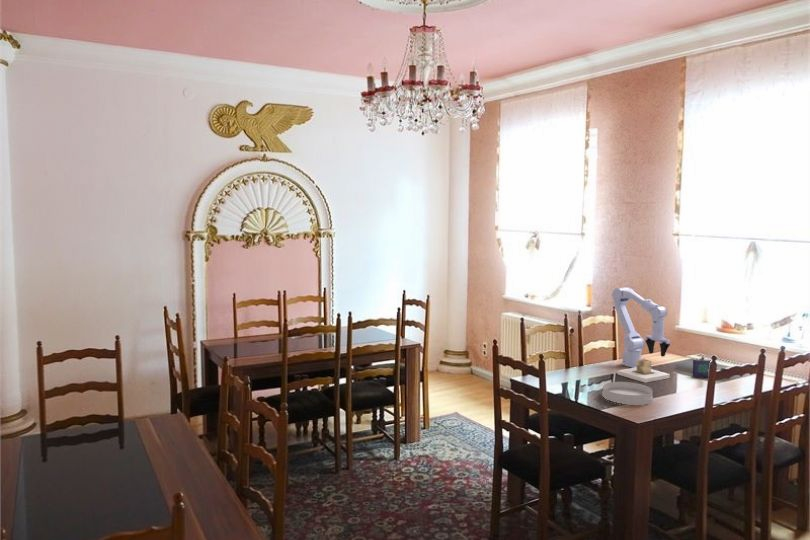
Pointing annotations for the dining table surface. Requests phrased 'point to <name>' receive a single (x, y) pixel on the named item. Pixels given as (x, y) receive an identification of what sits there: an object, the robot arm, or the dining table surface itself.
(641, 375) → the plinth
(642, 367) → the block
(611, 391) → the dish
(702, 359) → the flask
